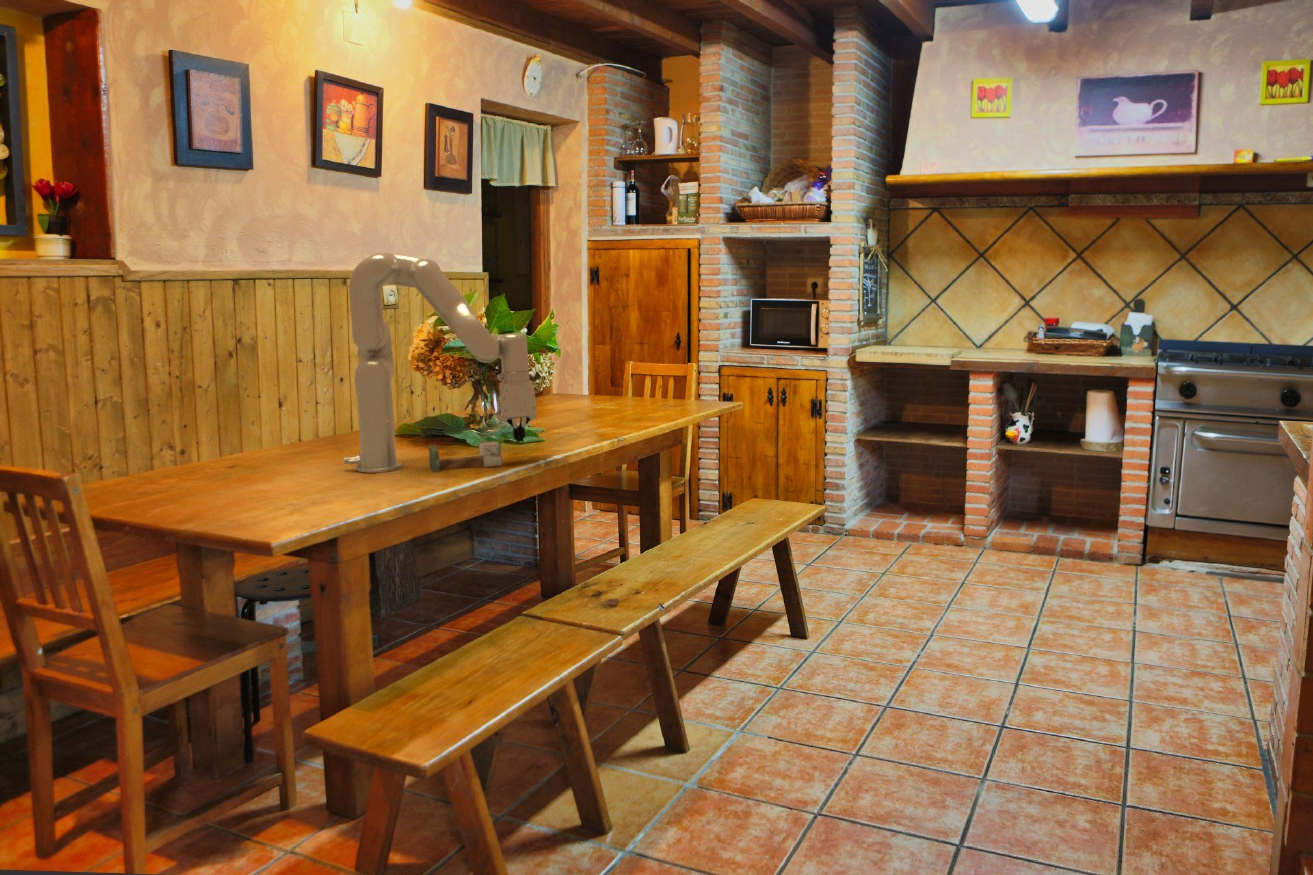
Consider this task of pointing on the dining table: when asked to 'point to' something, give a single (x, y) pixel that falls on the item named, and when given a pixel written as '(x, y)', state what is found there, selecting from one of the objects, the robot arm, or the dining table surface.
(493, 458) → the keeper
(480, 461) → the rail
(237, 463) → the dining table surface
